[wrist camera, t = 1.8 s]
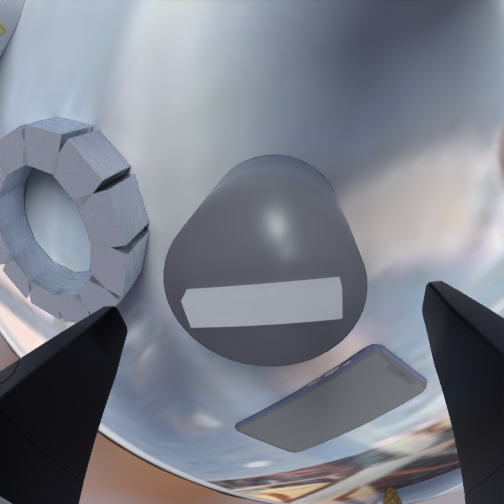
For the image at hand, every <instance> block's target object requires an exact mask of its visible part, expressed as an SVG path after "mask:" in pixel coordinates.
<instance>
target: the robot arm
mask: <svg viewBox="0 0 504 504" xmlns="http://www.w3.org/2000/svg"><path fill="white" fill-rule="evenodd" d="M422 313H423V318H424V322H425V326H426V330H427V334H428V339H429V343H430V347H431V352H432V357H433V361H434V364H435V368H436V371H437V374H438V377H439V381H440V384H441V387H442V391H443V394H444V398H445V401H446V405H447V409H448V413H449V416H450V420H451V424H452V429H453V433H454V437H455V442H456V447H457V451H458V457H459V462H460V467H461V473H462V479H463V486H464V493H465V503H466V504H504V318H503V317H501V316H499V315H498V314H496V313H495V312H493V311H491V310H490V309H488V308H487V307H485V306H483V305H482V304H480V303H478V302H477V301H475V300H473V299H472V298H470V297H468V296H467V295H465V294H463V293H462V292H460V291H458V290H457V289H455V288H453V287H451V286H450V285H448V284H446V283H444V282H443V281H434V282H429V283H428V284H427V286H426V290H425V296H424V301H423V307H422ZM126 335H127V326H126V324H125V322H124V320H123V318H122V316H121V314H120V312H119V310H118V309H117V308H116V307H115V306H104V307H102V308H100V309H99V310H97V311H95V312H94V313H92V314H90V315H89V316H87V317H86V318H84V319H82V320H81V321H79V322H77V323H76V324H74V325H73V326H71V327H69V328H68V329H66V330H65V331H63V332H61V333H60V334H58V335H57V336H55V337H53V338H52V339H50V340H49V341H47V342H45V343H44V344H42V345H41V346H39V347H38V348H36V349H34V350H33V351H31V352H30V353H28V354H27V355H25V356H23V357H22V358H21V359H19V360H17V361H16V362H14V363H13V364H11V365H9V366H8V367H6V368H5V369H3V370H2V371H0V504H79V500H80V495H81V492H82V488H83V482H84V478H85V475H86V471H87V467H88V463H89V460H90V456H91V452H92V448H93V445H94V442H95V438H96V435H97V432H98V428H99V425H100V422H101V419H102V416H103V412H104V409H105V406H106V403H107V400H108V397H109V394H110V391H111V388H112V385H113V382H114V380H115V376H116V373H117V370H118V366H119V362H120V358H121V354H122V350H123V347H124V343H125V339H126Z"/></svg>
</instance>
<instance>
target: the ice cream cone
mask: <svg viewBox="0 0 504 504" xmlns="http://www.w3.org/2000/svg"><path fill="white" fill-rule="evenodd" d="M383 504H402V502H401V500H400V498H399V496H398V494H397V491H396V489H395V487H390V488H387V489H386V491H385V496H384V500H383Z"/></svg>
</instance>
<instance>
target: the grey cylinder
mask: <svg viewBox="0 0 504 504" xmlns="http://www.w3.org/2000/svg"><path fill="white" fill-rule="evenodd" d="M24 1H25V0H0V56H1V54H2V53H3V51H4V49H5V48H6V46H7V44H8V43H9V41H10V39H11V37H12V35H13V33H14V30H15V28H16V26H17V23H18V21H19V18H20V15H21V12H22V9H23V5H24Z"/></svg>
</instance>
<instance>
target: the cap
mask: <svg viewBox="0 0 504 504" xmlns="http://www.w3.org/2000/svg"><path fill="white" fill-rule="evenodd" d="M164 288H165V294H166V297H167V300H168V303H169V305H170V308H171V310H172V312H173V314H174V315H175V317H176V318H177V320H178V322H179V323H180V324H181V325H182V327H183V328H184V329H185V330H186V331H187V332H188V333H189V334H190V335H191V336H192V337H193V338H194V339H195V340H196V341H198V342H199V343H200V344H202V345H203V346H205V347H206V348H208V349H209V350H211V351H213V352H215V353H217V354H219V355H221V356H223V357H226V358H228V359H231V360H234V361H237V362H241V363H245V364H251V365H258V366H284V365H291V364H296V363H300V362H304V361H307V360H310V359H313V358H315V357H317V356H320V355H322V354H323V353H325V352H327V351H329V350H330V349H332V348H333V347H335V346H336V345H337V344H339V343H340V342H341V341H342V340H343V339H344V338H345V337H346V336H347V335H348V334H349V333H350V331H351V330H352V329H353V328H354V326H355V325H356V323H357V321H358V320H359V318H360V315H361V313H362V311H363V308H364V305H365V301H366V295H367V276H366V271H365V266H364V263H363V261H362V258H361V255H360V253H359V250H358V248H357V245H356V243H355V240H354V238H353V235H352V233H351V230H350V228H349V225H348V223H347V221H346V218H345V216H344V213H343V211H342V209H341V206H340V204H339V202H338V200H337V197H336V195H335V193H334V191H333V189H332V187H331V185H330V184H329V182H328V181H327V180H326V179H325V177H324V176H323V175H322V174H321V173H320V172H319V171H317V170H316V169H315V168H313V167H312V166H310V165H309V164H307V163H305V162H303V161H301V160H299V159H296V158H293V157H288V156H283V155H264V156H259V157H255V158H252V159H249V160H246V161H244V162H243V163H241V164H239V165H237V166H236V167H235V168H233V169H232V170H231V171H230V172H229V173H228V174H226V175H225V177H224V178H223V179H222V180H221V181H220V183H219V184H218V185H217V186H216V187H215V189H214V190H213V191H212V192H211V193H210V195H209V196H208V197H207V198H206V199H205V201H204V202H203V203H202V204H201V206H200V207H199V208H198V209H197V210H196V212H195V213H194V214H193V215H192V217H191V218H190V219H189V220H188V222H187V223H186V224H185V226H184V227H183V228H182V229H181V231H180V232H179V233H178V235H177V236H176V238H175V239H174V240H173V242H172V244H171V246H170V248H169V250H168V253H167V257H166V260H165V265H164Z"/></svg>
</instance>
